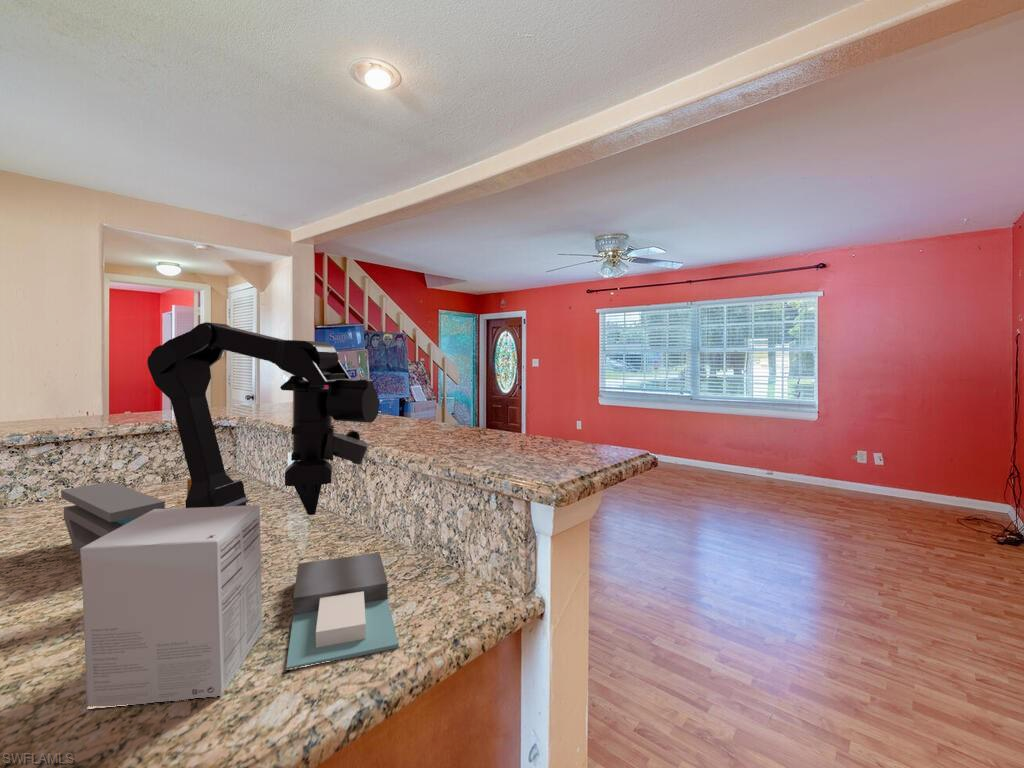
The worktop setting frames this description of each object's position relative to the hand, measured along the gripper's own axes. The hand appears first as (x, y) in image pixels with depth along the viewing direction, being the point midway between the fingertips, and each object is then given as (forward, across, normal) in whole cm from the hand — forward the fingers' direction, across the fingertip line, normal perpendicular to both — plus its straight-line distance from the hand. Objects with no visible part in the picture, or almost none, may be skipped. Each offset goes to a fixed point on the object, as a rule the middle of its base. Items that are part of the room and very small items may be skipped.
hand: (311, 514), depth 76 cm
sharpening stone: (+13, +26, +36) cm, 46 cm away
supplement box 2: (+13, +40, +26) cm, 49 cm away
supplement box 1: (+12, -18, +13) cm, 25 cm away
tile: (+10, -15, -5) cm, 19 cm away
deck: (+11, -4, -5) cm, 13 cm away
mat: (+11, -16, -5) cm, 21 cm away
